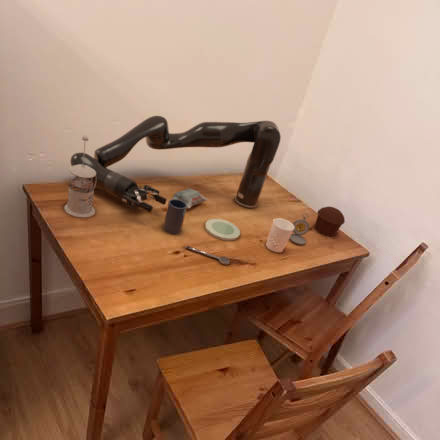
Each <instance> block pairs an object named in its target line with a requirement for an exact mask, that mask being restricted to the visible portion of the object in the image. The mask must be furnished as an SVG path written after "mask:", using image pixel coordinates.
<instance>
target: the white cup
mask: <svg viewBox="0 0 440 440" xmlns="http://www.w3.org/2000/svg"><path fill="white" fill-rule="evenodd" d="M293 230H294V225H293V223H292V222H291V221H289V220H288V219H285V218H280V217H277V218H274V219H273V220H272V223H271V226H270V229H269V232H268V235H267V239H266V242H265V246H266V248H267V249H268V250H270V251H271V252H273V253H282V252H283V251H284V250H285V247H286V246H287V244H288V243H289V241H290V236H291V234H293V233H294V232H293Z"/></svg>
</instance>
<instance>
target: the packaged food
mask: <svg viewBox="0 0 440 440" xmlns="http://www.w3.org/2000/svg"><path fill="white" fill-rule="evenodd" d="M171 199H178V200H181V201H183V202H185V203H186V204H187V209H191V208H192V207H194V206H197V205H199V204H201V203H204V202H206V201H208V198H207V197H206V196H205V197H204V196H203V194H201V193H200V191H198V190H195V189H193V188H191V187H189V188H186V189H184V190H180V191H177V192H175V193H174V194H172V198H171Z"/></svg>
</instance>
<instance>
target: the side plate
mask: <svg viewBox="0 0 440 440" xmlns="http://www.w3.org/2000/svg"><path fill="white" fill-rule="evenodd" d="M204 228H205V231H206V232H207V233H208V234H209V235H210V236H212V237H213V238H216V239H218V240H222V241H230V242H231V241H236V240H237V239H239V237H240V235H241V230H240V229H239V227H238V226H237V225H236V224H234V223H233V222H231V221H229V220H226V219H223V218H211V219H210V218H209V219H208V220H207V221H206V222H205V225H204Z"/></svg>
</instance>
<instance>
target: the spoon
mask: <svg viewBox="0 0 440 440" xmlns="http://www.w3.org/2000/svg"><path fill="white" fill-rule="evenodd" d="M185 249H186V250H189V251H192V252H194V253H196V254H197V253H198V254H200V255H203V256H205V257H208V258H212V259H214V260H217V261H218V262H219V264H221V265H223V266H229V265H230V263H231V260H230V259H229V258H228V257H226V256H218V255H214V254H212V253H210V252H206V251H203V250H201V249H198V248H195V247H192V246H189V245H186V246H185Z"/></svg>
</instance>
